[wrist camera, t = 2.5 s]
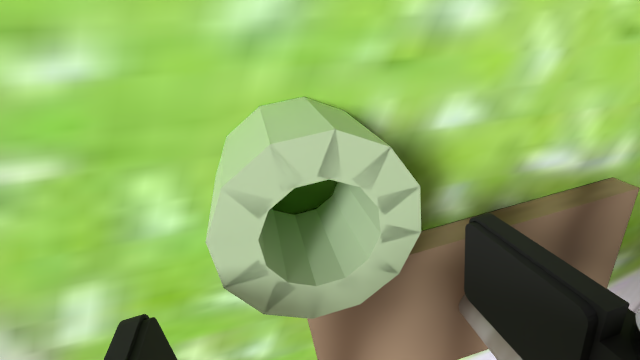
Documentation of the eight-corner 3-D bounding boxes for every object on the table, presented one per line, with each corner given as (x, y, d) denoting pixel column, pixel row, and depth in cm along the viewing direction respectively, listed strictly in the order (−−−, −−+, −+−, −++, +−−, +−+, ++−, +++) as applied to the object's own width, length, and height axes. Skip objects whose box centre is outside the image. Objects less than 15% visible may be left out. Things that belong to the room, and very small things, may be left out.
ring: (361, 84, 14) (418, 109, 10) (374, 219, 17) (422, 285, 13) (196, 119, 13) (175, 165, 9) (242, 255, 16) (244, 339, 12)
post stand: (612, 177, 20) (764, 237, 14) (579, 295, 24) (685, 377, 19) (294, 267, 17) (323, 386, 11) (323, 380, 22) (354, 507, 16)
